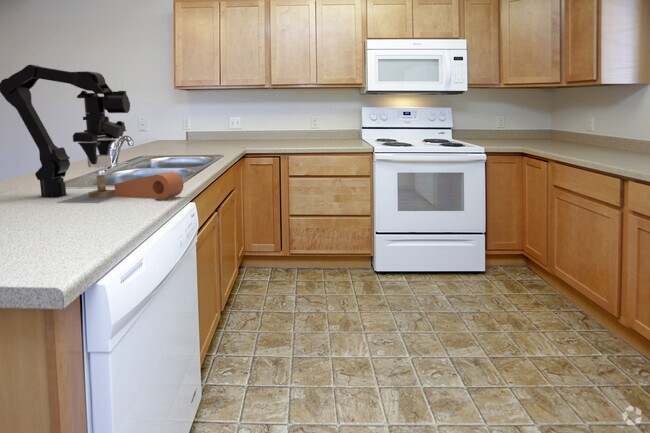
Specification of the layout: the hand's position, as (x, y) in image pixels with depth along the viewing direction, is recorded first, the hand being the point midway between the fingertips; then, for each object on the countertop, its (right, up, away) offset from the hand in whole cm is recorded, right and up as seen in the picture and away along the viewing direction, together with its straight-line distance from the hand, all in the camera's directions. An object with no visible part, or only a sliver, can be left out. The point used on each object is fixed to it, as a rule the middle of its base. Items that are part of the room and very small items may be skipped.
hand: (99, 163), depth 182 cm
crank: (+15, -11, +1) cm, 19 cm away
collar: (0, -1, 0) cm, 1 cm away
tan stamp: (0, -10, +2) cm, 10 cm away
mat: (-1, -12, -3) cm, 12 cm away
